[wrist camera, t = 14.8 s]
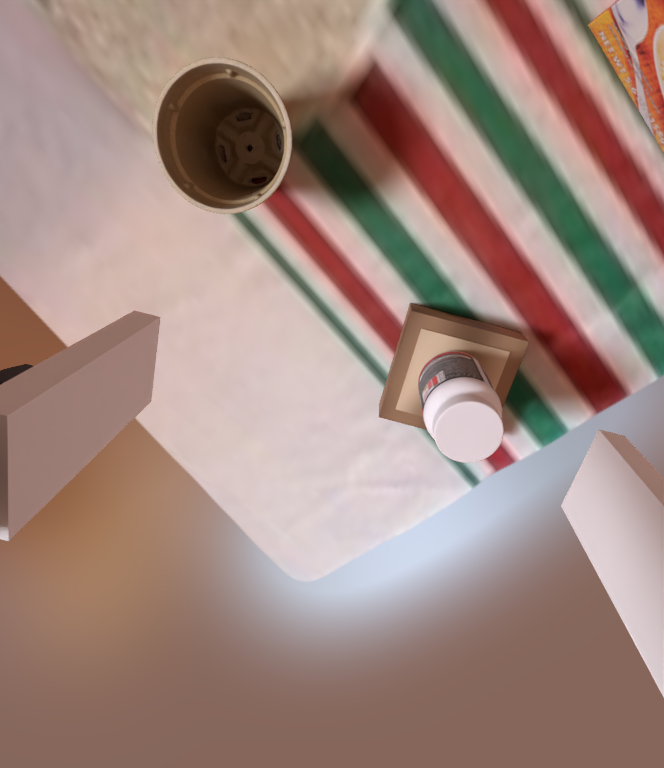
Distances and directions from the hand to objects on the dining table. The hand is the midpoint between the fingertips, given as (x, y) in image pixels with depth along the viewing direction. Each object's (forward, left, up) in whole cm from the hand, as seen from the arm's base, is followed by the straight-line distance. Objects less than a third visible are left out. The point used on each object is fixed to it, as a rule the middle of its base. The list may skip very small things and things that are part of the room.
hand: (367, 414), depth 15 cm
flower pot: (-13, +6, -32) cm, 35 cm away
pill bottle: (+8, -8, -29) cm, 31 cm away
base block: (+8, -8, -32) cm, 34 cm away
